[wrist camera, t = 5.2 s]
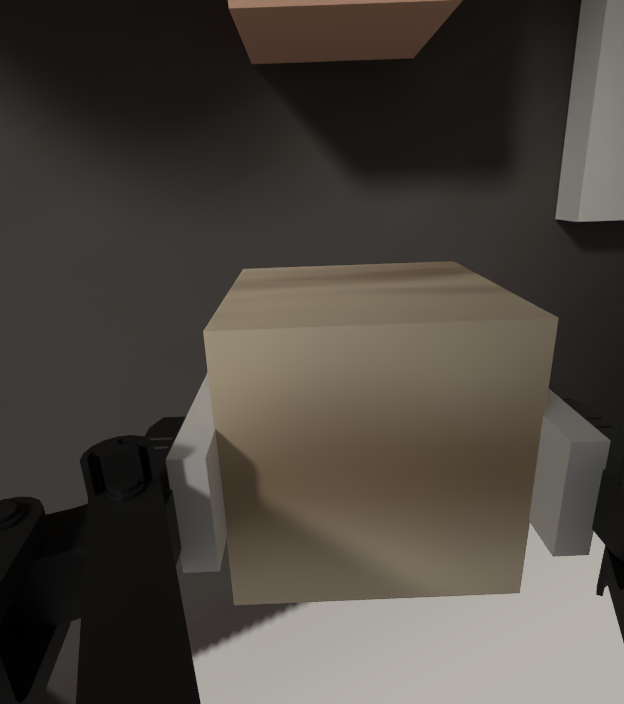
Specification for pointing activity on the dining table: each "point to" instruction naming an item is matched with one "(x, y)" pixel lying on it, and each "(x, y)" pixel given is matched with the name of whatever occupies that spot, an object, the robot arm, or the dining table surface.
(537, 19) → the dining table surface
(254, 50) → the terracotta block
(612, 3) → the base plate
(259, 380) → the maple block
